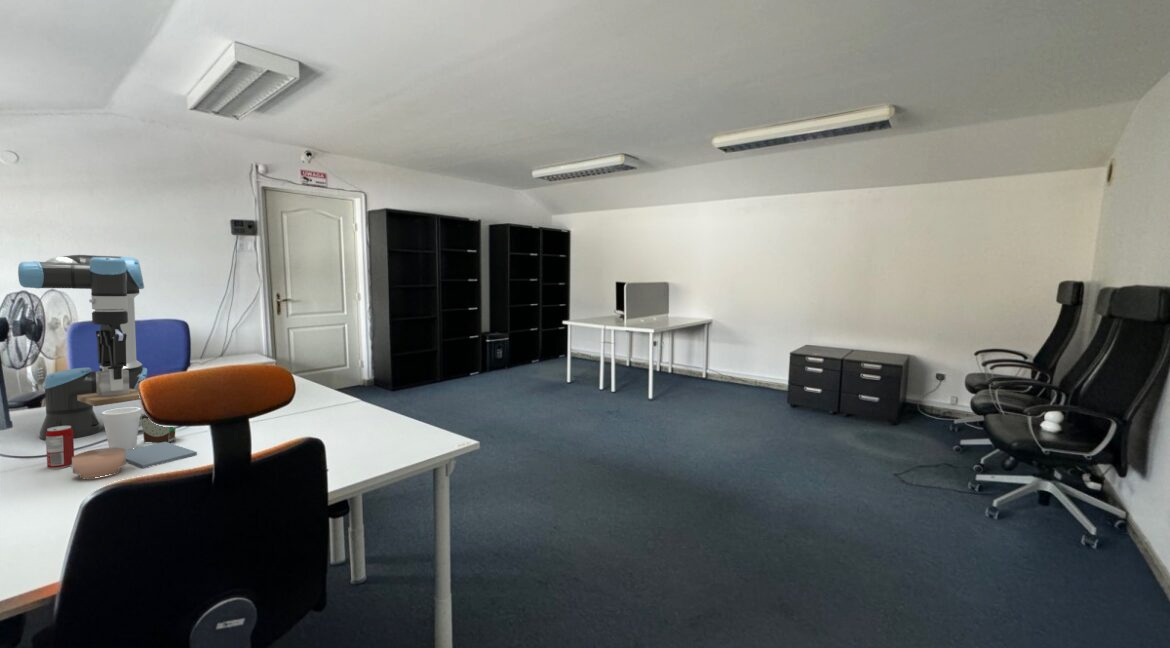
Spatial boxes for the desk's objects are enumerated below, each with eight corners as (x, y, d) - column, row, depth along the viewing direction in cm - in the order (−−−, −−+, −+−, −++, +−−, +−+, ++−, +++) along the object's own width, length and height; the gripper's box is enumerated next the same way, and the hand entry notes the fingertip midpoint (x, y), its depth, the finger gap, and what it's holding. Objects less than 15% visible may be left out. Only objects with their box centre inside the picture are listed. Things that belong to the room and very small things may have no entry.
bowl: (65, 476, 139) (64, 455, 139) (115, 464, 149) (115, 445, 149) (82, 484, 134) (81, 463, 134) (133, 471, 144) (132, 451, 144)
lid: (77, 400, 142) (75, 371, 141) (130, 392, 153) (129, 366, 152) (95, 406, 136) (93, 376, 136) (148, 398, 147) (147, 370, 146)
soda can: (73, 461, 150) (71, 423, 149) (75, 466, 147) (73, 427, 146) (46, 466, 146) (44, 427, 145) (48, 470, 143) (46, 430, 142)
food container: (188, 438, 174) (187, 411, 174) (172, 444, 168) (171, 416, 168) (157, 436, 176) (156, 409, 175) (140, 442, 169) (139, 414, 169)
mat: (112, 456, 155) (112, 453, 155) (165, 444, 168) (165, 441, 168) (143, 468, 147) (143, 465, 147) (196, 454, 159) (196, 451, 159)
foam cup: (98, 455, 156) (96, 415, 155) (110, 446, 164) (108, 408, 163) (137, 451, 161) (135, 412, 160) (146, 442, 169) (145, 406, 168)
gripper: (80, 309, 143) (83, 387, 145) (105, 312, 135) (109, 395, 137) (113, 308, 150) (116, 383, 151) (140, 311, 142) (142, 390, 144)
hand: (113, 388), depth 144 cm, fingers closed on lid, 4 cm apart
